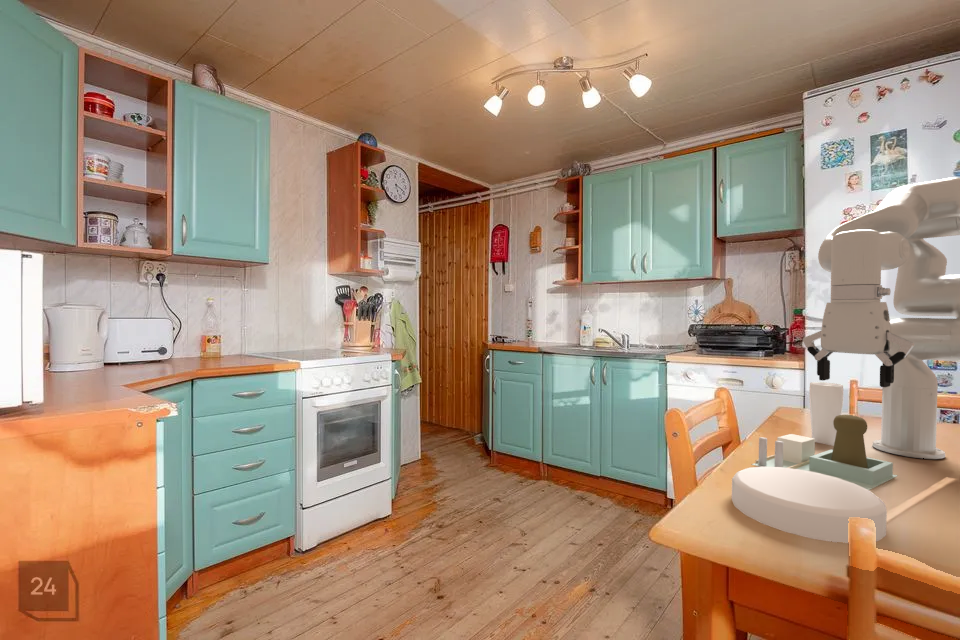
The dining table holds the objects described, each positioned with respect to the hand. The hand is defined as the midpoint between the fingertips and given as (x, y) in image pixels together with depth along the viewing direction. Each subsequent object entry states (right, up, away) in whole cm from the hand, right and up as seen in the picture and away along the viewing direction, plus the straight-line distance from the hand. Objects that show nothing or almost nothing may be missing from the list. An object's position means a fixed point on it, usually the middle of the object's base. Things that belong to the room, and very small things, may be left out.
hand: (853, 383), depth 90 cm
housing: (-6, -17, +8) cm, 20 cm away
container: (-21, -19, -16) cm, 33 cm away
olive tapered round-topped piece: (-1, -18, 0) cm, 18 cm away
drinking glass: (+13, -19, +25) cm, 34 cm away
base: (-5, -19, +1) cm, 19 cm away
